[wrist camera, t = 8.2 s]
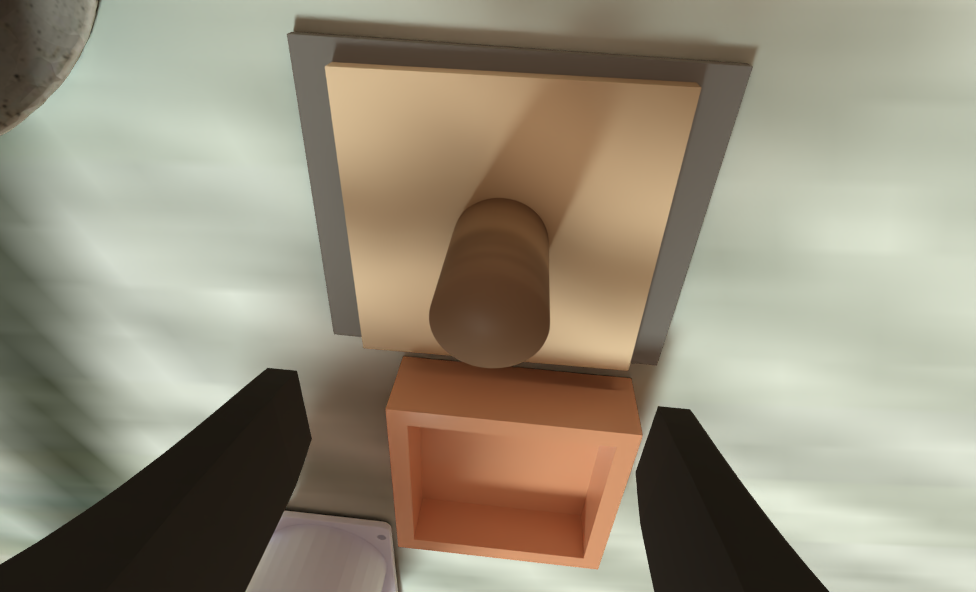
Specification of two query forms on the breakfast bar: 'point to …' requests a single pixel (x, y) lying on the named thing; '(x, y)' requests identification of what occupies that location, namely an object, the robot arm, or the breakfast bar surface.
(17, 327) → the breakfast bar surface
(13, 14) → the ceramic mug
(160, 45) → the breakfast bar surface
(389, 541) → the robot arm
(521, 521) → the dish
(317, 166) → the mat
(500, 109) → the lid
